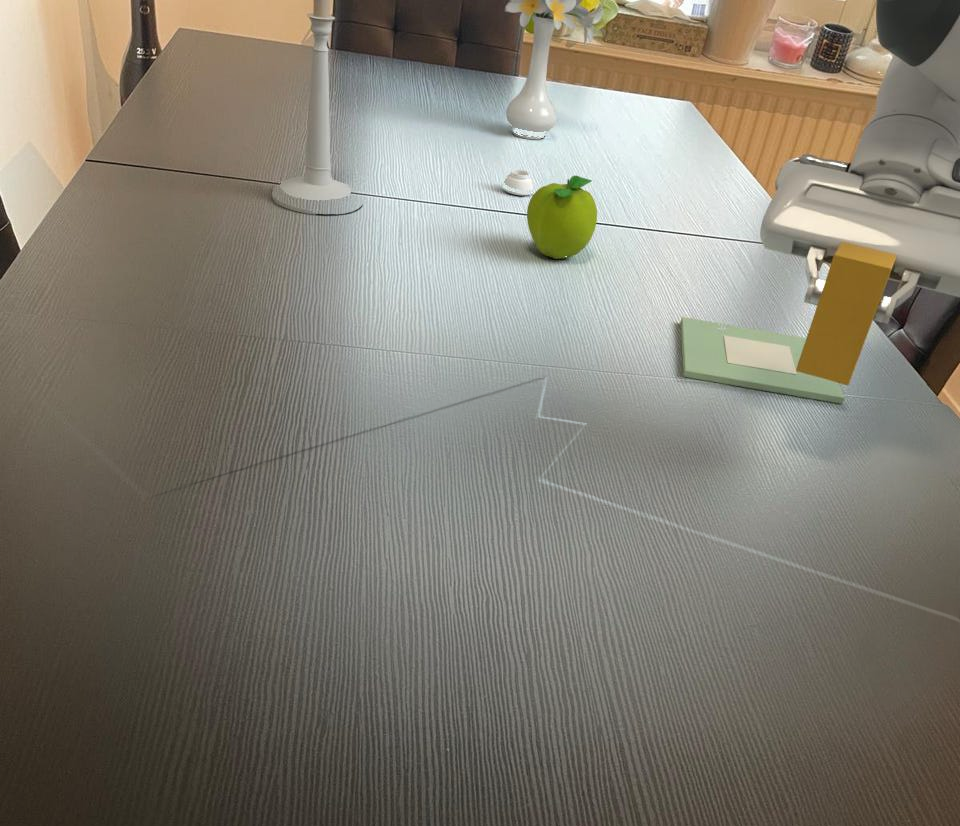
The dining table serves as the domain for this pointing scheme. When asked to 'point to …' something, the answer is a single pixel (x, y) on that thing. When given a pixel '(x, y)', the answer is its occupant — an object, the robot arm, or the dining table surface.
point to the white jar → (519, 182)
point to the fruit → (562, 218)
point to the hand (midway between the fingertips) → (846, 310)
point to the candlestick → (317, 124)
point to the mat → (750, 360)
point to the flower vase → (544, 58)
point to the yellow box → (845, 312)
